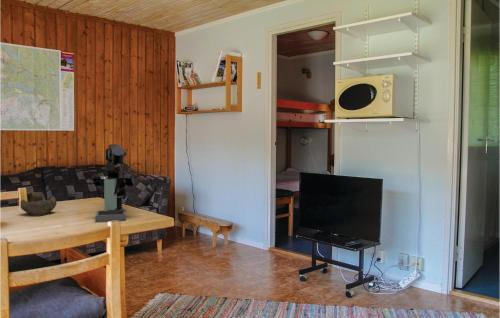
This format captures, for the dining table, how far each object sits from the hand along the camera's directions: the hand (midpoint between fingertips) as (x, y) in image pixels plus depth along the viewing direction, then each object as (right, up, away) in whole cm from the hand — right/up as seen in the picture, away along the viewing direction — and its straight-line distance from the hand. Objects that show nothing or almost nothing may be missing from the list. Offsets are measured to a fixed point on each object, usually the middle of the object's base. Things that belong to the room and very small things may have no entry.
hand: (109, 194), depth 198 cm
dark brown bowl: (-40, -11, +14) cm, 43 cm away
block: (0, -7, +2) cm, 7 cm away
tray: (0, -12, +2) cm, 12 cm away
